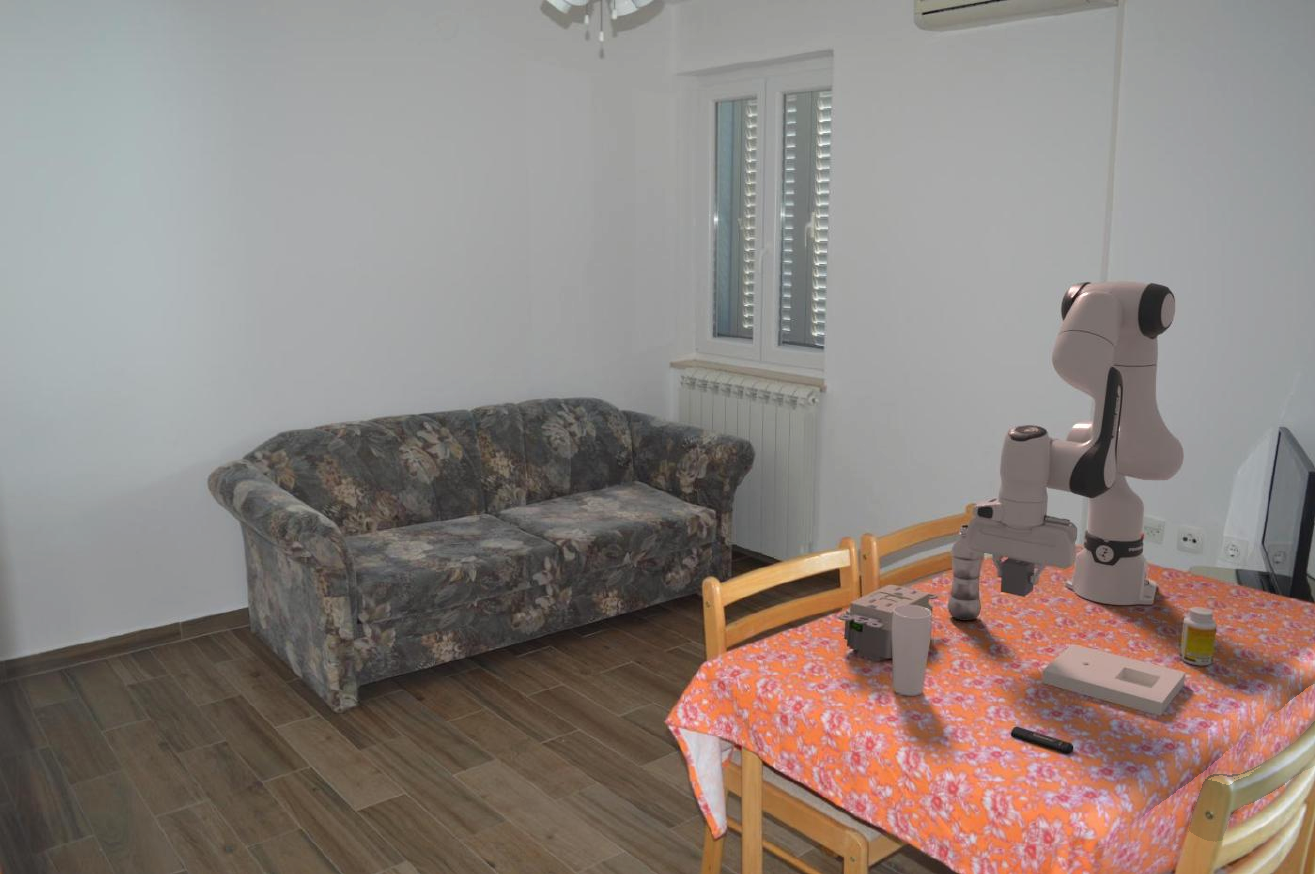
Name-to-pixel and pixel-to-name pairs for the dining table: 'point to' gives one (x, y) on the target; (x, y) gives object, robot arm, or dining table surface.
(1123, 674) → the outlet plate
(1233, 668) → the dining table surface
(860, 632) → the electrical outlet
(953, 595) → the plastic bottle
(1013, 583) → the block
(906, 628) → the drinking glass
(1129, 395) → the robot arm
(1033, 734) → the usb stick
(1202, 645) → the supplement bottle
